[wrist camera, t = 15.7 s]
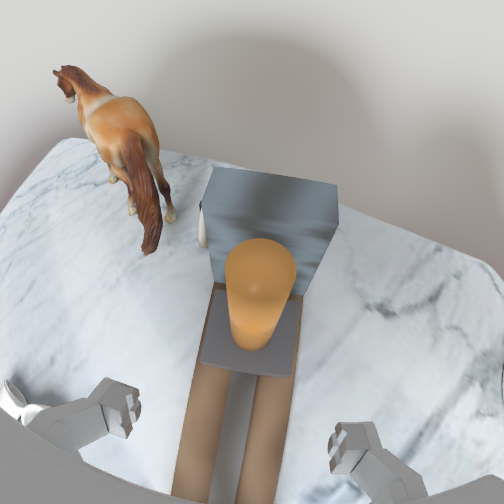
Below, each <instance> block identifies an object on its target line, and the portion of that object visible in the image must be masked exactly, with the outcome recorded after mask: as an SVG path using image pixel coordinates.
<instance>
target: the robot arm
mask: <svg viewBox="0 0 504 504" xmlns="http://www.w3.org/2000/svg"><path fill="white" fill-rule="evenodd" d="M502 388H503V400H504V371H503V384H502ZM139 395H140V394H139V389H137V388H134V387H132V386H129V385H126V384H123V383H121V382H118V381H115V380H113V379H110V378H107V377H106V378H104V379H103V380H102V381H101V382H100V383H99V385H98V386H97V387H96V388H95V389H94V391H93V392H92V393H91V394H90V395H89V397H88V398H87V399H86V398H81V399H78V400H75V401H71V402H68V403H65V404H61V405H58V406H55V407H51V408H48V409H44V410H41V411H40V412H39V413H38V414H37V415H36V416H35V417H34V418H33V420H32V421H31V422H30V423H29V424H28V425H27V426H24V425H23V424H22V423H20V422H19V421H18V420H16V419H15V418H14V417H12V416H11V415H10V414H8V413H7V412H6V411H5V410H3V409H2V408H1V407H0V504H204V503H199V502H195V501H190V500H186V499H182V498H178V497H175V496H171V495H168V494H164V493H161V492H158V491H154V490H151V489H148V488H145V487H143V486H140V485H137V484H134V483H132V482H129V481H126V480H124V479H121V478H119V477H116V476H114V475H112V474H109V473H107V472H105V471H103V470H100V469H98V468H96V467H94V466H92V465H90V464H88V463H86V462H84V461H83V459H82V457H81V455H80V453H79V451H78V449H80V448H82V447H84V446H86V445H88V444H90V443H92V442H94V441H96V440H97V439H99V438H101V437H103V436H105V435H107V434H109V433H111V434H114V435H117V436H119V437H122V438H125V439H127V438H128V436H129V434H130V432H131V431H132V429H133V428H132V423H135V422H137V420H138V418H139V416H140V412H141V402H140V401H139V400H138V397H139ZM335 431H336V432H335V433H333V434H332V435H331V437H330V439H329V442H328V454H329V455H330V456H331V457H332V459H331V460H330V462H329V463H330V471H331V474H350V475H351V477H352V478H353V479H354V480H355V481H356V482H357V484H358V485H359V486H360V487H361V488H362V489H363V490H364V492H365V493H366V494H367V495H368V496H369V497H370V498H371V499H372V501H371V502H370V503H369V504H504V480H503V479H501V478H499V477H497V476H495V475H491V474H490V475H486V476H483V477H481V478H479V479H476V480H474V481H471V482H469V483H466V484H464V485H461V486H459V487H456V488H453V489H450V490H447V491H444V492H441V493H438V494H435V495H431V496H428V494H427V491H426V488H425V485H424V483H423V480H422V477H421V475H419V474H418V473H417V472H415V471H414V470H413V469H411V468H410V467H409V466H407V465H406V464H405V463H403V462H402V461H401V460H400V459H398V458H397V457H396V456H394V455H393V454H392V453H391V452H389V451H388V450H387V449H383V448H382V445H381V442H380V439H379V436H378V433H377V430H376V427H375V424H374V423H373V422H339V423H338V424H337V425H336V427H335Z"/></svg>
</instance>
